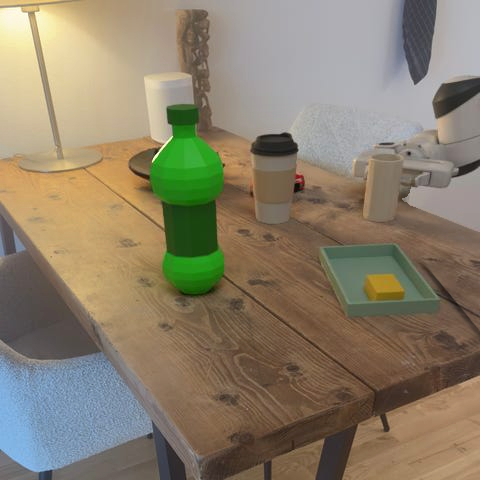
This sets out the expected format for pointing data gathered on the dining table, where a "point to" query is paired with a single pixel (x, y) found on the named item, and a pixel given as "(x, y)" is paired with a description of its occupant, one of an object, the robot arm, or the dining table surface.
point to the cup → (382, 187)
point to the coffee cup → (273, 176)
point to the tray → (373, 263)
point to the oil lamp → (144, 162)
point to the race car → (298, 184)
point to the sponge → (383, 288)
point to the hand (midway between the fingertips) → (390, 179)
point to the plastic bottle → (189, 203)
